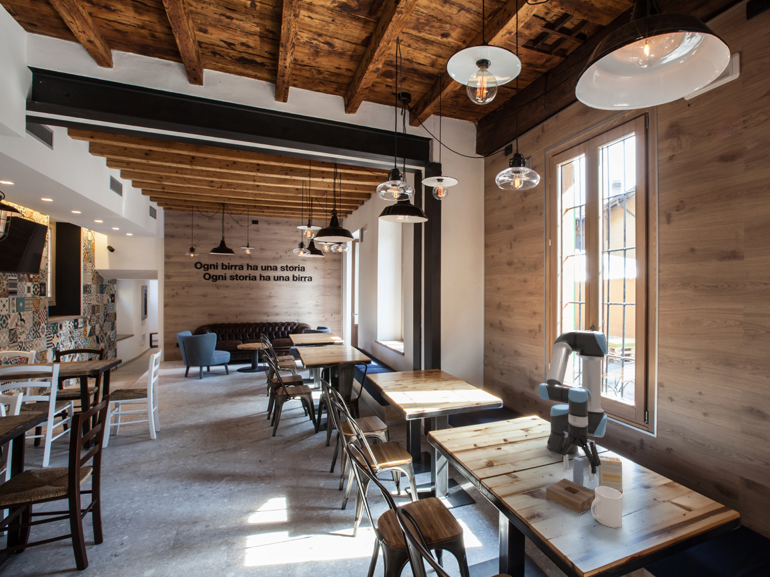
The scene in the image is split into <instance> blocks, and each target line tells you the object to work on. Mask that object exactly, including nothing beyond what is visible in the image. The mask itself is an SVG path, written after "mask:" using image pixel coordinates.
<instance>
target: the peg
mask: <svg viewBox="0 0 770 577" xmlns="http://www.w3.org/2000/svg"><path fill="white" fill-rule="evenodd" d="M584 472H585V471H584V458H581V457H580V456H575V457H573V458H572V482H575V483H577V484H579V485H582V486H584V484H585V481H584V476H585V474H584ZM584 487H585V486H584Z"/></svg>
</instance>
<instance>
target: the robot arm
mask: <svg viewBox="0 0 770 577" xmlns="http://www.w3.org/2000/svg"><path fill="white" fill-rule="evenodd" d="M607 343H608V341H607V338H606V334H605V333H604V332H602V331H597V330H579V329H578V330H576V329H570V330H567V331H565V332H562V333H561V334H560V335H559V336H558V337H557V338H556V339H555V340H554V342H553V345H552V350H553V354H552V357H551V361H550V364H549V369H548V372H547V377H546V380H545V383H543V382H541V383H540V384H539V385H538V397H539V398H540V399H541V400H545V401H550V402H551V401H552V402H559V403H563V404H555V405H553V406H551V408H550V434H549V436H548V439H547V443H546V446H547V449H548V450H550V451H551V452H554V453H556V454H561V462H562V463H563V469H562V470H563V471H564V472H566V471H568V470H569V456H570V455H576V454H578V452H579V448H581V450H582V451H583V452H584V454H585V456H586V458H587V460H588V462H589V465H588V481H589V482H593V481H594V480H595V474H596V473H597V467H598V466H599V465H601V462H600V459H599V456H600V455H599V453H598V450H597V446H596V444H597V442H596V440H594V439H593V440H591V439H590V438H589V436H591V437H597V438H603V437H604V436H605V434H606V429H607V424H608V415H607V414H606V413H605V410H604V409H603V408H602V406H601V405H602V403H601V400H602V399H601V396H602V395H601V394H602V386H601V385H602V384H601V383H602V377H601V373H602V368H601V367H602V362H601V361H602V360H603V359H604V358H605V355H608V352H609V351H608V344H607ZM574 352H575V353H578V354H579V355H578V356H579V357H580V358H581V359H582V362H581V364H582V365H581V366H582V367H581V368H582V370H581V372H582V373H581V376H582V377H581V379H582V380H581V386H579V387H572V386H564V379H565V376H566V372H567V368H568V363H569V362H568V361H569V357H570V356H571V355H572V353H574ZM564 403H565V404H564ZM589 448H590V449H589Z"/></svg>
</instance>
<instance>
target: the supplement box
mask: <svg viewBox="0 0 770 577" xmlns="http://www.w3.org/2000/svg"><path fill="white" fill-rule="evenodd" d="M598 456H599V459H600V462H601V465H599V466H597V467H598V468H597V469H598V470H597V471H598V475H597V476H598V477H597V478H598V486H605V487H610V488H613V489H615V490H617V491H619V492H620V493H621V494H623V463H622V461H621V459H620V458H618V457H614V456H613V457H612V456H603V455H598Z"/></svg>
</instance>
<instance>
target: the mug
mask: <svg viewBox="0 0 770 577" xmlns="http://www.w3.org/2000/svg"><path fill="white" fill-rule="evenodd" d="M594 491H595V499H594V500H593V502H592V505H591V508H590V512H591V516H592V517H593V519H595V520H597V522H598V523H600V524H601V525H603V526H605V527H609V528H613V529H617V528H620V527H622V526H623V493H620V492H619V491H617V490H615V489H613V488H610V487H605V486H599V485H598V486H595V488H594ZM593 508H594V512H593Z"/></svg>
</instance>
